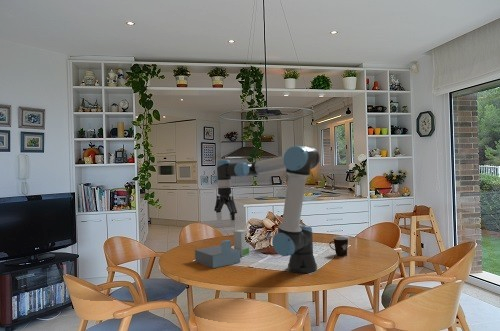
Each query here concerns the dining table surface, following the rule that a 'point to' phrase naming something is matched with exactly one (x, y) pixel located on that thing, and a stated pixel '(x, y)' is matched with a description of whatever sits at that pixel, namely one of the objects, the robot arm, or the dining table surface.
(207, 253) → the slate blue box
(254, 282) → the dining table surface
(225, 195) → the robot arm
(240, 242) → the skincare box
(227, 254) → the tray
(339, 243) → the coffee mug
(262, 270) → the dining table surface
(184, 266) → the dining table surface
